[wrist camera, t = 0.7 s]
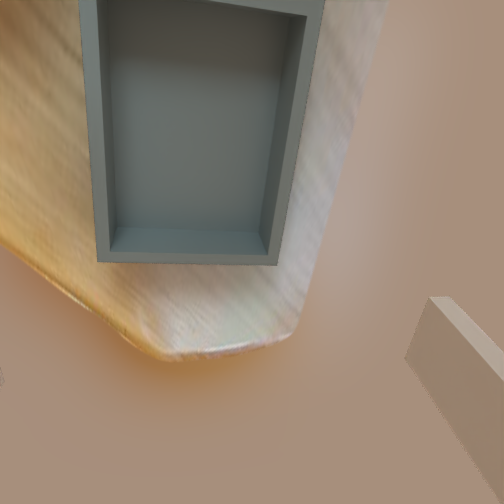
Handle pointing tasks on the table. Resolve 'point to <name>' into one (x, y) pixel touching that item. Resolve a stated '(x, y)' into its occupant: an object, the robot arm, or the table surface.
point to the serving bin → (195, 125)
